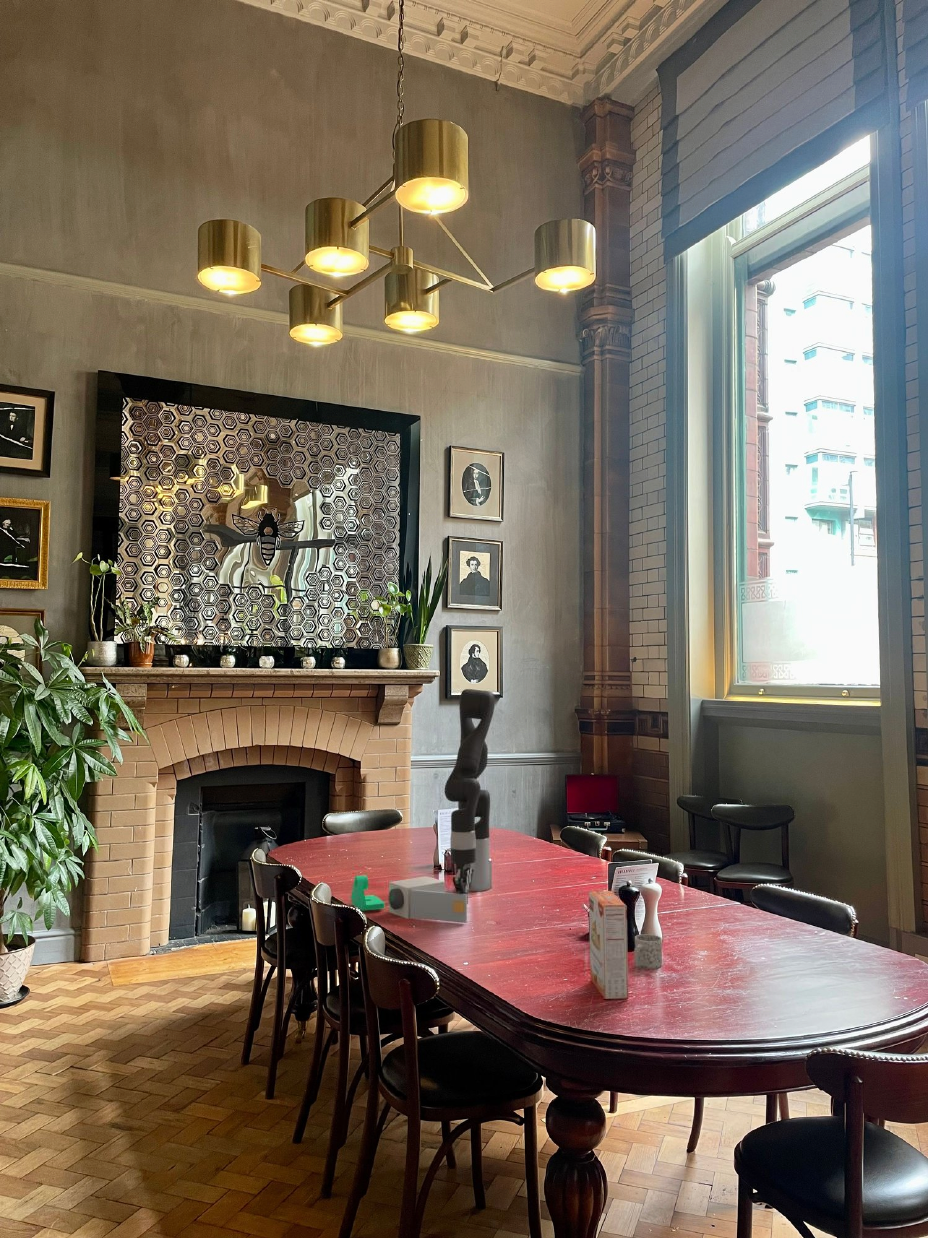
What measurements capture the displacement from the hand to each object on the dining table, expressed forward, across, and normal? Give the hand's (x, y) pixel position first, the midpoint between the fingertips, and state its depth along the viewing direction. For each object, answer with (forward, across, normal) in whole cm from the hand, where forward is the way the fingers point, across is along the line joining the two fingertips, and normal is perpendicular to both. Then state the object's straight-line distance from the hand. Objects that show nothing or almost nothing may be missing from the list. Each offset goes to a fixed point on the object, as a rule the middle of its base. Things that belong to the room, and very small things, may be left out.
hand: (463, 905), depth 272 cm
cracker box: (+3, -46, -51) cm, 69 cm away
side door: (+4, -4, +7) cm, 9 cm away
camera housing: (+5, +5, +17) cm, 18 cm away
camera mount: (+5, +5, +33) cm, 34 cm away
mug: (+4, -26, -57) cm, 63 cm away
